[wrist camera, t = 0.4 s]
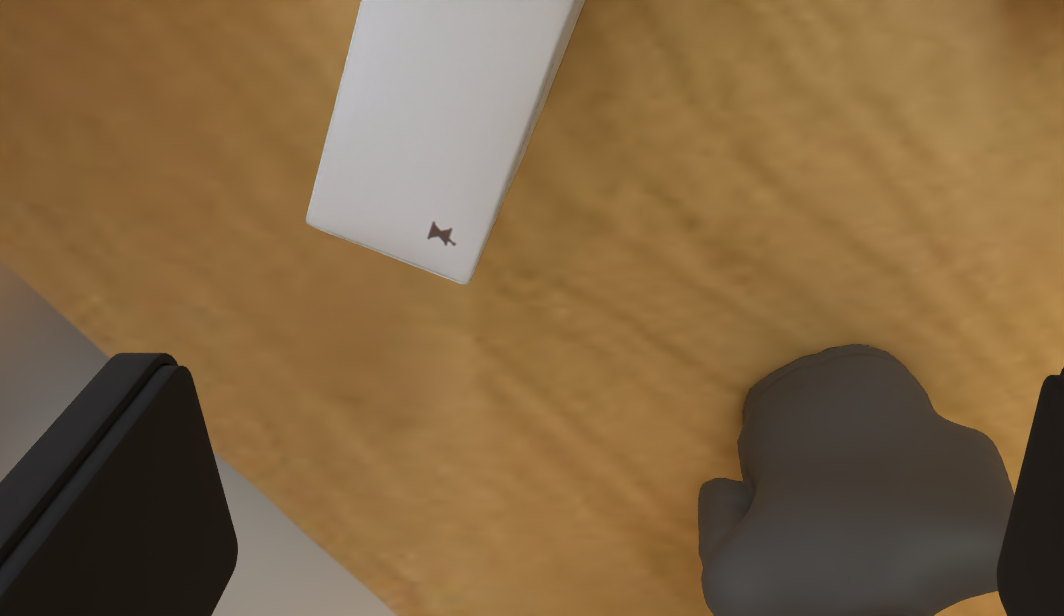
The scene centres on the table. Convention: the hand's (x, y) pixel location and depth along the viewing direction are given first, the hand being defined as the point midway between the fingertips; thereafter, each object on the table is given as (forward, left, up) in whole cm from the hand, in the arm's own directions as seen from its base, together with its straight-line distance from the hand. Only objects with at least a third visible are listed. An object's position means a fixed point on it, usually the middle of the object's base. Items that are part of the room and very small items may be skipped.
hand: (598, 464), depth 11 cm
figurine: (+21, +8, -30) cm, 38 cm away
